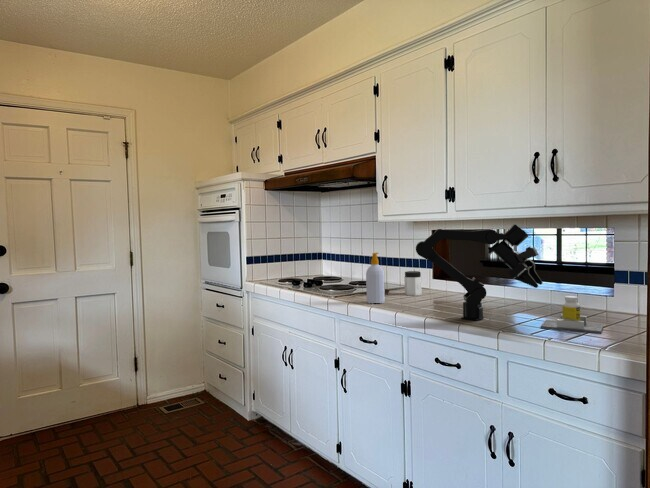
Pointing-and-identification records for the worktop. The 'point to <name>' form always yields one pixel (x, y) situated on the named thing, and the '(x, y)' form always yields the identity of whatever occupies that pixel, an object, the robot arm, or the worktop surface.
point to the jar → (413, 283)
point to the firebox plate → (573, 325)
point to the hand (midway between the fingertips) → (539, 285)
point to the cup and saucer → (385, 289)
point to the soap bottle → (375, 282)
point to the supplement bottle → (571, 308)
